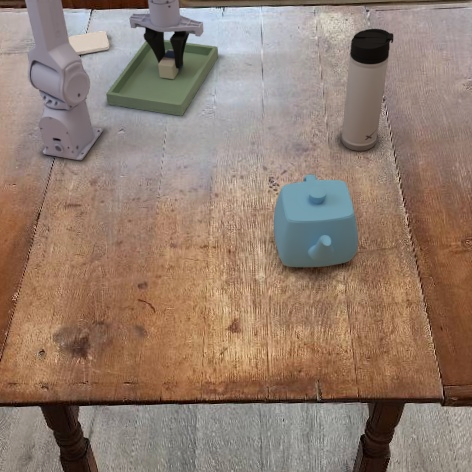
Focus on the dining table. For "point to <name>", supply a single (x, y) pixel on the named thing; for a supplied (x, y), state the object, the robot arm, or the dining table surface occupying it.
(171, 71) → the eraser
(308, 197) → the teapot
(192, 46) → the tray
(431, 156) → the dining table surface
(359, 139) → the travel mug
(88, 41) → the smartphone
